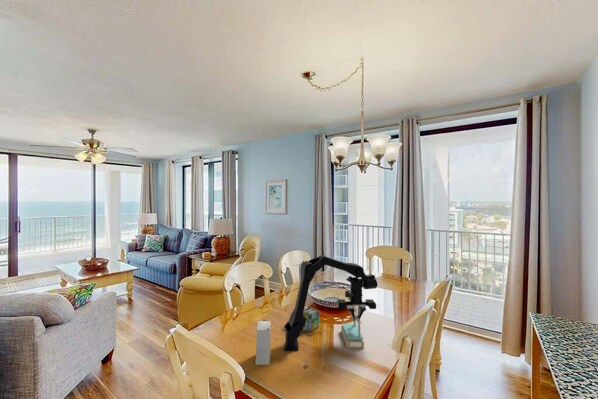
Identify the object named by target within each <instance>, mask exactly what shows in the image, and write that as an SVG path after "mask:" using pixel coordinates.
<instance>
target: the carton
mask: <svg viewBox="0 0 598 399" xmlns="http://www.w3.org/2000/svg"><path fill="white" fill-rule="evenodd" d="M340 328H341V329H340V332H341V333H342V337H343V340H344V343H345V346H346V348H347V349H348V348H349V349H364V348H365V341H364V339H363V340H348V339H347V336H346V334H345V331H344V328H343V326H342V325H341V326H340Z"/></svg>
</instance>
